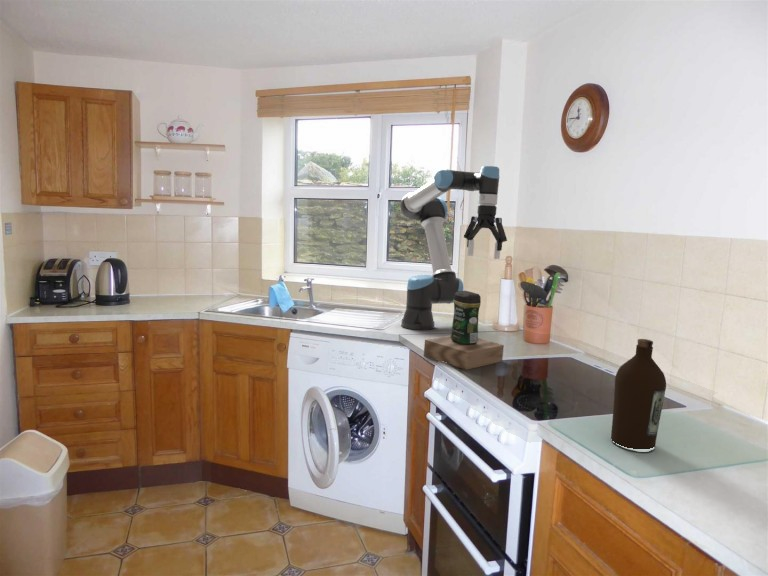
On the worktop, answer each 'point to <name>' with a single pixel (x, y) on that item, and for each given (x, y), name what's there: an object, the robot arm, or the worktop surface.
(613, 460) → the worktop surface
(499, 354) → the block
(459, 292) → the coffee jar
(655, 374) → the olive oil
